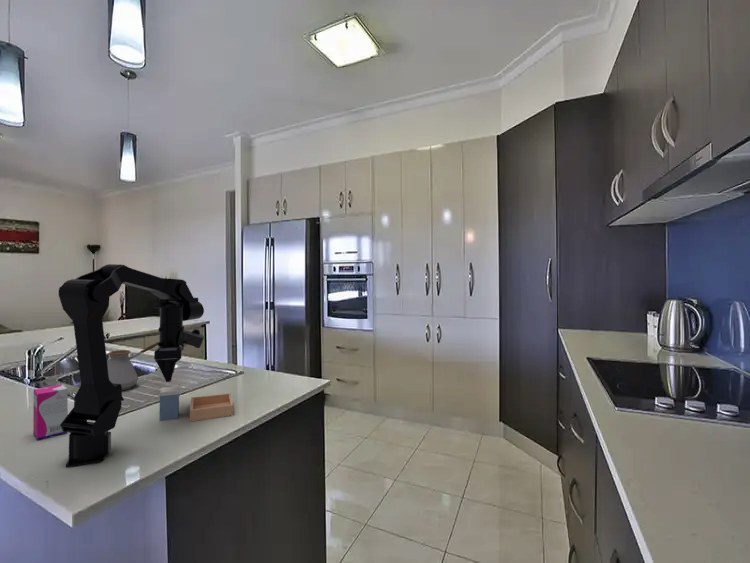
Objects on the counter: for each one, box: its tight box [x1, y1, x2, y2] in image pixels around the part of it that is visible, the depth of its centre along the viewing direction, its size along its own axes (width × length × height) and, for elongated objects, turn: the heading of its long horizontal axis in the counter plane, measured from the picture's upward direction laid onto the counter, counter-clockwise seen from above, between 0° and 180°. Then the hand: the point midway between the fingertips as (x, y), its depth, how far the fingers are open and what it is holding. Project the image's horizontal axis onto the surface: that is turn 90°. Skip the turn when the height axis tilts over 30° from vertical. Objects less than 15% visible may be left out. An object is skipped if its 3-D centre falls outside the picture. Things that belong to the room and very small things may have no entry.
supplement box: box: [32, 383, 69, 441], centre depth 89 cm, size 6×6×12 cm
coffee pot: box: [107, 341, 159, 391], centre depth 128 cm, size 21×12×15 cm, turn 149°
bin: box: [189, 393, 234, 422], centre depth 106 cm, size 11×11×3 cm
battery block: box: [158, 385, 180, 422], centre depth 101 cm, size 4×4×8 cm
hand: (170, 377), depth 101 cm, fingers open, 9 cm apart
